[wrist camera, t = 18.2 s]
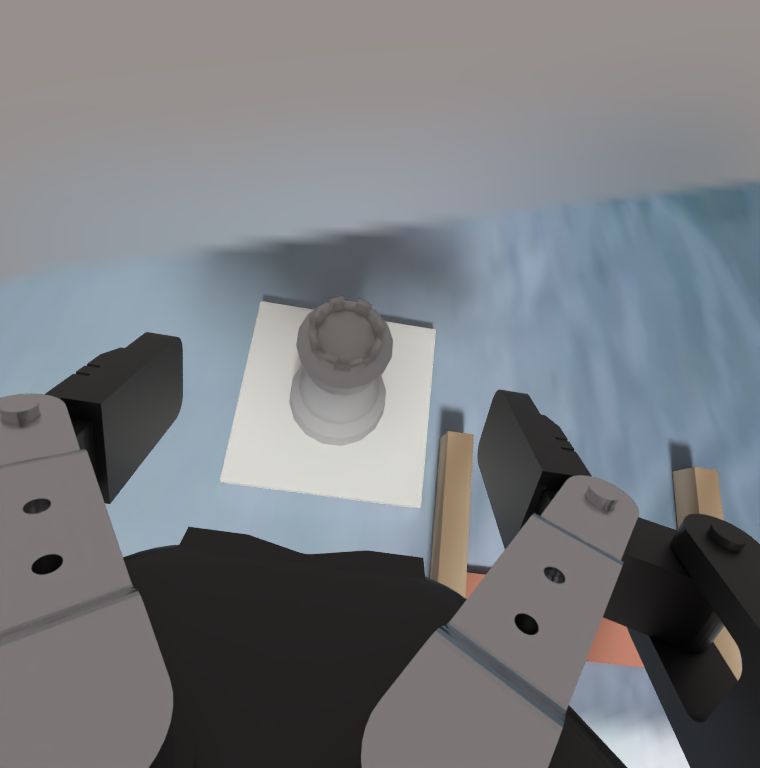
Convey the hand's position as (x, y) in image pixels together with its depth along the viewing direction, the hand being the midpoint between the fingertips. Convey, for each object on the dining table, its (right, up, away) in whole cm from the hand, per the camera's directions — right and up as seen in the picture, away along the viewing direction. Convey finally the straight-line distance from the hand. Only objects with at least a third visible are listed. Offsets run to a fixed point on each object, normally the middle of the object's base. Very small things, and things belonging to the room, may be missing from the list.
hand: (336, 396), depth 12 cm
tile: (-1, -1, +11) cm, 11 cm away
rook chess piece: (-1, -1, +11) cm, 11 cm away
